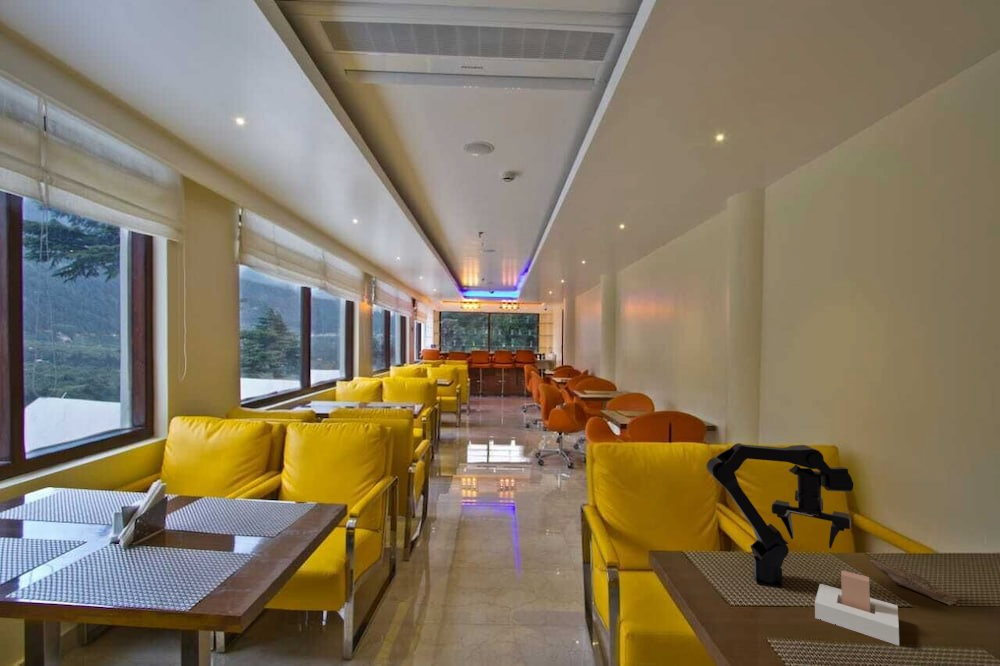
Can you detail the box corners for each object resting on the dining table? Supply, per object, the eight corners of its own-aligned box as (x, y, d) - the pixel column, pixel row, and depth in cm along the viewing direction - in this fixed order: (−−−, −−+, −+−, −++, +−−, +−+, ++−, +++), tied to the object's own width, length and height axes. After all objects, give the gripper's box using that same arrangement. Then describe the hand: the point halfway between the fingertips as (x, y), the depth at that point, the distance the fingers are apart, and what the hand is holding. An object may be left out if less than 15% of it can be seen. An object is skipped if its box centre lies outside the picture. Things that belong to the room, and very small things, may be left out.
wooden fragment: (972, 608, 117) (972, 604, 117) (929, 606, 118) (929, 602, 118) (892, 561, 143) (892, 558, 143) (857, 561, 143) (857, 557, 143)
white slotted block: (815, 618, 112) (814, 602, 113) (820, 598, 121) (819, 583, 122) (899, 645, 102) (898, 628, 102) (898, 621, 111) (897, 605, 111)
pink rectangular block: (842, 614, 112) (841, 574, 113) (843, 608, 115) (841, 570, 115) (870, 623, 109) (868, 582, 109) (870, 617, 111) (869, 577, 111)
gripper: (851, 489, 129) (853, 543, 129) (777, 477, 142) (778, 526, 141) (848, 499, 121) (850, 556, 120) (770, 485, 133) (772, 537, 133)
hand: (810, 543), depth 129 cm, fingers open, 9 cm apart
